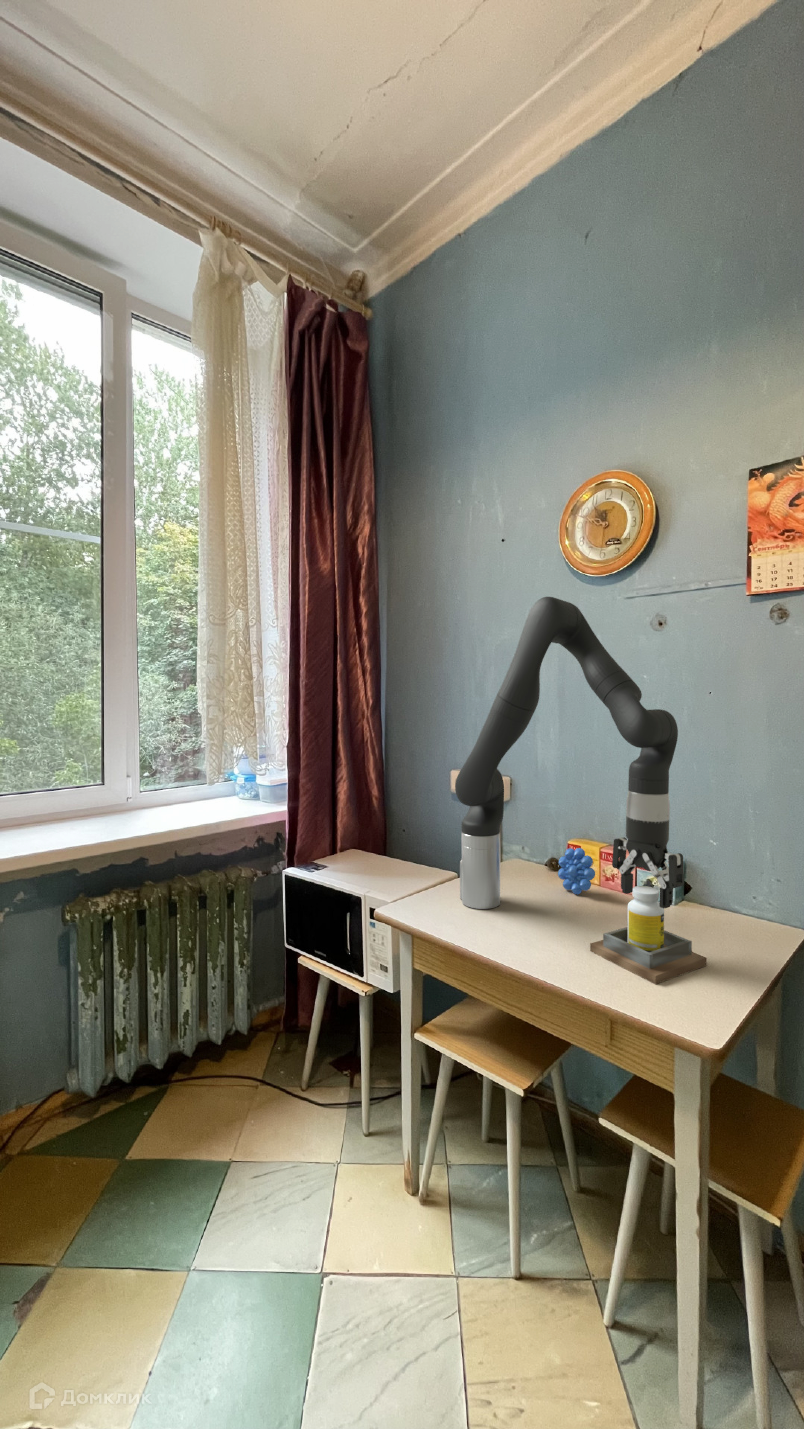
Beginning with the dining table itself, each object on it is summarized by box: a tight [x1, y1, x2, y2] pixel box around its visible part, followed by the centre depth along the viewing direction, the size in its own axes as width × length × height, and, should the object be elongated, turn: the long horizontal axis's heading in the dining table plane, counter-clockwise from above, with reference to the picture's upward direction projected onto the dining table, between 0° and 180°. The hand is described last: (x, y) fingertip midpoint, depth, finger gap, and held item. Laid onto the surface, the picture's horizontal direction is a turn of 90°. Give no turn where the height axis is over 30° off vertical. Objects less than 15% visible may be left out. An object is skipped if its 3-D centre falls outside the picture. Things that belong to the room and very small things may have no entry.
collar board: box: [589, 926, 708, 985], centre depth 112 cm, size 15×14×4 cm
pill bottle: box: [627, 885, 665, 952], centre depth 112 cm, size 6×6×12 cm
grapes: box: [557, 847, 596, 895], centre depth 148 cm, size 12×7×12 cm, turn 30°
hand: (645, 899), depth 112 cm, fingers open, 8 cm apart
